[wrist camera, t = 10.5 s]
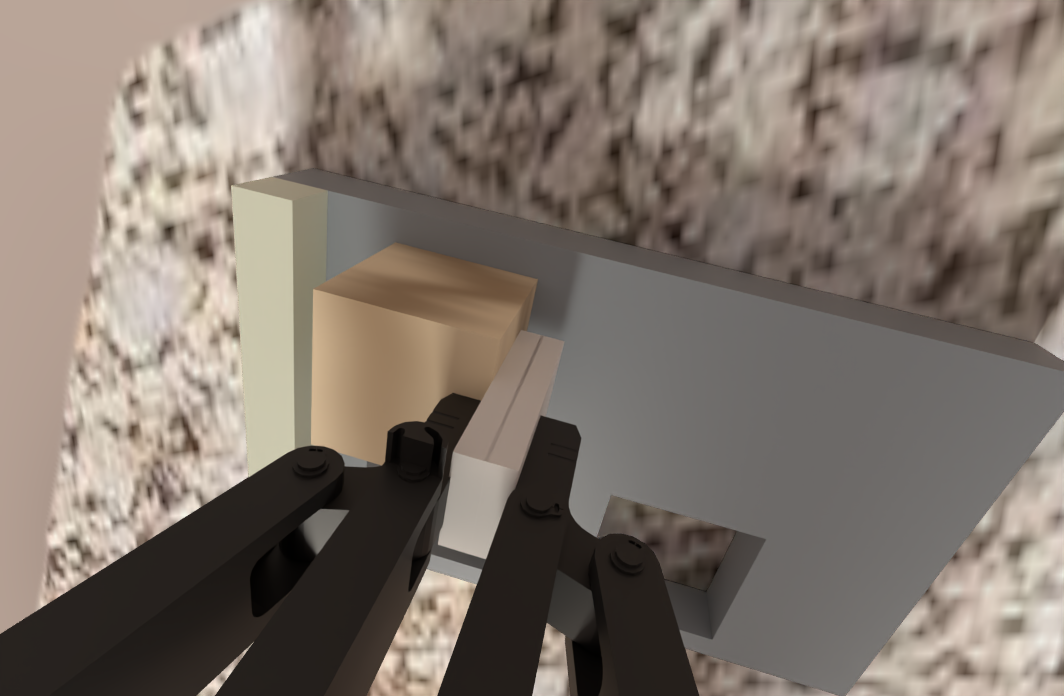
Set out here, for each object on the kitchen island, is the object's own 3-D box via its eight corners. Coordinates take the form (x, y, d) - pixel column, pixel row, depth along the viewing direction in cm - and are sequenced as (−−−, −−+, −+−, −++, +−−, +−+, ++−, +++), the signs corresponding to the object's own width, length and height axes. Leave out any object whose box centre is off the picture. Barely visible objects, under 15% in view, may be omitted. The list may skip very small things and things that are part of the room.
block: (538, 279, 18) (500, 339, 13) (510, 404, 20) (471, 492, 16) (395, 242, 18) (313, 288, 14) (384, 369, 20) (310, 444, 16)
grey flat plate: (1034, 343, 18) (1145, 413, 14) (827, 644, 25) (861, 747, 21) (313, 168, 20) (231, 185, 16) (310, 489, 27) (253, 556, 23)
